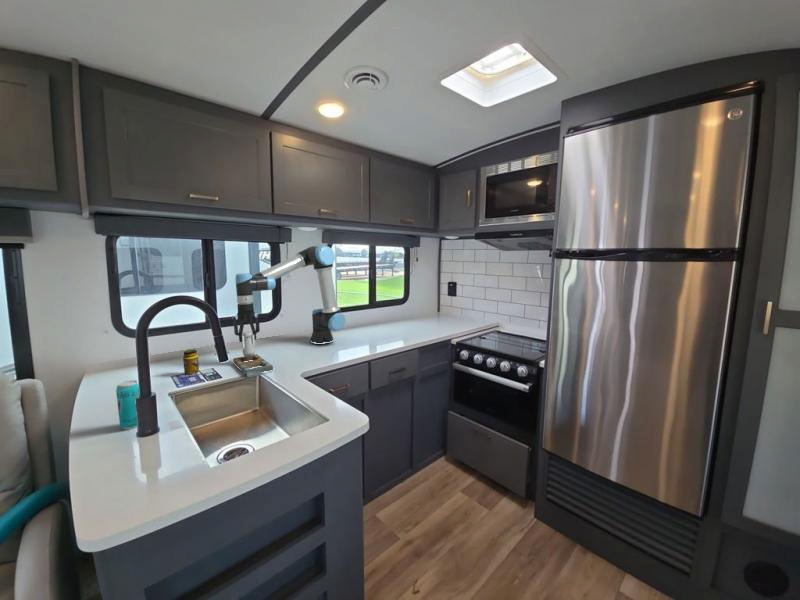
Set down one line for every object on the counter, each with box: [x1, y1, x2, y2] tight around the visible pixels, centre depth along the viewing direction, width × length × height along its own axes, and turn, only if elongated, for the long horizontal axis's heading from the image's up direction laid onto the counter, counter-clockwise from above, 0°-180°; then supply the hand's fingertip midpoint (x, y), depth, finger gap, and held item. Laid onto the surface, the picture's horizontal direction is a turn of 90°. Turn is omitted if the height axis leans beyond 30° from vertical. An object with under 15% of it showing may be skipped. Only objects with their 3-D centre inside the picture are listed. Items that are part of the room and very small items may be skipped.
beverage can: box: [115, 380, 140, 430], centre depth 105 cm, size 6×6×15 cm
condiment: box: [182, 349, 200, 375], centre depth 153 cm, size 7×8×12 cm
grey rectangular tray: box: [232, 353, 274, 378], centre depth 164 cm, size 26×12×3 cm, turn 41°
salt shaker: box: [242, 331, 256, 357], centre depth 168 cm, size 6×6×13 cm
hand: (248, 346), depth 168 cm, fingers closed on salt shaker, 4 cm apart
